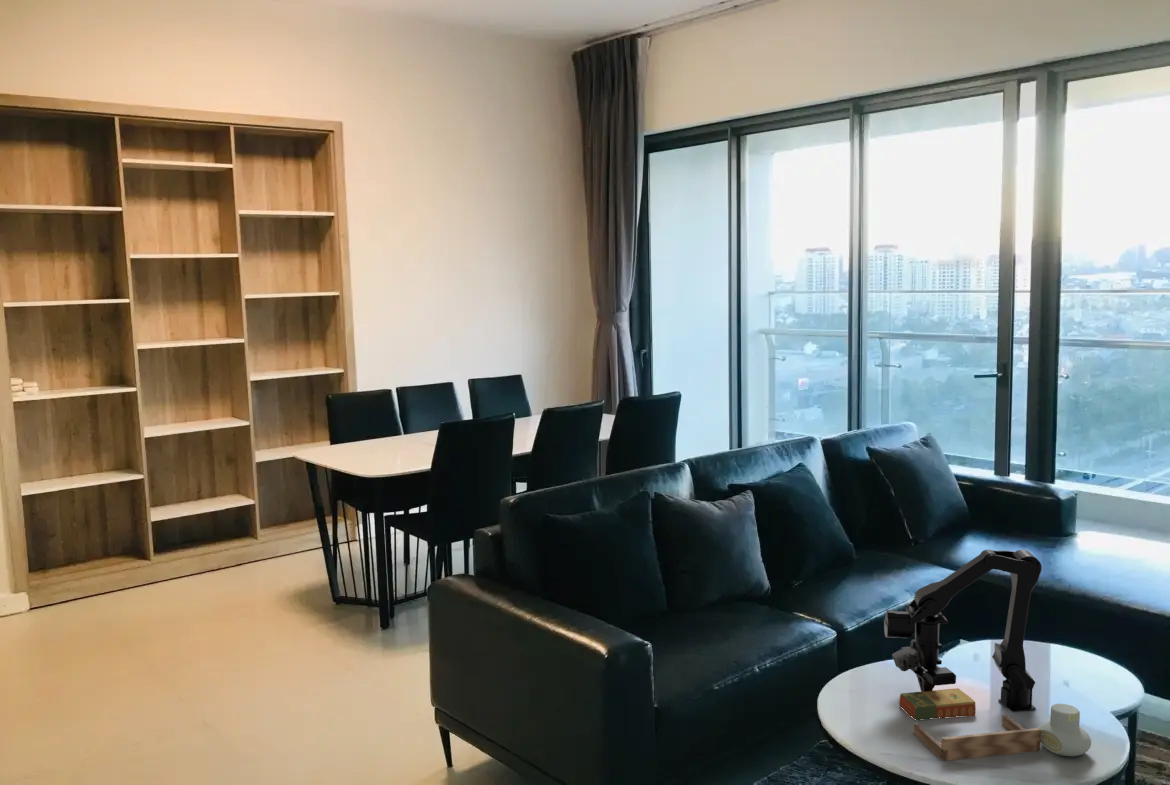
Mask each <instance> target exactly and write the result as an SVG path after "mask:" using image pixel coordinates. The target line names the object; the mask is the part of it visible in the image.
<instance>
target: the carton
mask: <svg viewBox="0 0 1170 785" xmlns="http://www.w3.org/2000/svg"><path fill="white" fill-rule="evenodd" d="M898 704H899V705H900V706H901V707H902V708H903V709H904V710H905V711H906V712H907V713H908V714H909V715H910V716H912V717H913V718H914V719H916V720H918V721H921V720H920V719H930V718H939V717H940V718H942V719H946V718H945V717H955V718H957V717H956V716H967V717H975V716H976V711H977V710H976V700H974V699H972V697H971V696H969V695H968V694H966V693H965V692H964V691H963V690H961V689H960V688H958V687H957V688H947V689H937V690H934V689H933V690H932V691H922V692H921V691H913V692H901V693H900V695H899V703H898ZM903 709H902V710H903ZM904 710H903V711H904ZM905 711H904V712H905ZM906 712H905V713H906ZM907 713H906V714H907ZM908 714H907V715H908ZM909 715H908V716H909ZM910 716H909V717H910ZM913 718H912V719H913ZM914 719H913V720H914ZM916 720H915V721H916ZM930 720H931V719H930Z"/></svg>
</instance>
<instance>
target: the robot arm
mask: <svg viewBox="0 0 1170 785" xmlns="http://www.w3.org/2000/svg"><path fill="white" fill-rule="evenodd" d="M1042 568H1043V567H1042V563H1041V562H1040V560H1039V559H1038V558H1037V557H1036V556H1034V554H1032V553H1031V552H1030V551H1028V550H1025V549H1019V550H1016V551H1011V550H993V549H984V550H982V551H981V552H980V554H978V555H977V556H975V557H974V558H972V559H971V560H969V561H968V562H967V563H965V564H964V565H962V566H961V567H959V568H957V570H956V571H953V572H952V573H950V574H949V575H948V576H946V577H945V578H944V579H941V580H939V581H936V582H931V583H929V584H927V585H925V586H922V587H920V588H919V589H917V590H916V591H915V593H914V598H913V599H912V601H911V602H910V603H909V604H908V605H907V607H906V608H905V610H906V611H903V610H899V611H897V610H893V609H892V610H891V609H887V610H886V614H885V617H884V620H883V629H884V630H883V631H884V636H885V638H892V639H894V638H895V639H897V638H898V639H910V637H913V635H914V639H911V641H910V646H901V647H900V648H899V650H897V651H895V652H894V653H891V656H892V659H893V662H894V665H895V667H896V668H898V669H899V670H900V671H901V672H907V671H909V670H911V671H912V672H913V673H914V674H915V675H916V678H917V681H918V686H919V688H920V692H922V691H934V688H935V687H936V686H945V685H956V683H957V675H956V674H955V673H954V671H952V670H950V669H949V668H948V667H946V666H943V667H940V666H939V665H942V660H941V659H940V658H939V650H942V649H943V644H941V643H940V625H947V624H949V622H948V619H947V618H946V616H944V614H942V612H941V611H943V610H944V609H945V608H946V607H947V606H948V605H949V603H950V601H951V600H952V599H953V598H954V596H956V595H957V594H958V593H960V592H961V591H963V590H964V589H965V588H967V587H969V586H970V585H972V584H973V583H975V582H976V581H977V580H979V579H980V578H982V577H983V576H985V575H986V574H988V573H989V572H991V571H992V570H997V571H1002V572H1006V573H1010V579H1011V591H1010V592H1011V593H1010V599H1009V605H1008V612H1007V619H1006V623H1005V624H1006V626H1005V630H1004V638H1003V639H1002V641H1001V642H1000V643H998V642H994V652H993V654H992V656H991V658H992V659H993V662H994V664H995V666H996V667H997V670H999V672H1000V673H1001V675H1002V677H1003V678H1004V679H1005V680H1002V686H1001V688H1000V698H998V699H997V700H998V703H1000V704H1001V705H1002V706H1004V707H1005V708H1007V709H1009V710H1010V711H1011V712H1014V713H1015V712H1025V711H1026V712H1027V711H1035V710H1036V709H1037V707H1036V706H1035V705H1033V689H1034V687H1035V684H1036V681H1035V680H1034V678H1033V677H1032V676H1031V675H1030V673H1029V672H1028V670H1027V669H1026V667H1027V666H1026V655H1025V650H1024V641H1025V634H1026V627H1027V621H1028V616H1029V607H1030V603H1031V602H1030V601H1031V596H1032V591H1033V589H1034V588H1035V586H1036V585H1037V583H1038V581H1039V578H1040V576H1041V573H1042Z"/></svg>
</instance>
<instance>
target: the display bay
mask: <svg viewBox="0 0 1170 785" xmlns="http://www.w3.org/2000/svg"><path fill="white" fill-rule="evenodd" d="M1001 726H1002V727H1004V728H1005V729H1006V730H1004V731H1003V730H1002V731H993V732H985V733H982V732H981V733H974V734H965V735H963V734H962V735H952V736H946V737H941V743H940V741H938V740H937V739H936V738H935V737H934V736H932V735H931V734H930V733H929V732H928V731H927V730H926V729H924V727H922V726H921V725H920V724H919V723H915V724H913V735H914V736H915V735H916V736H915V737H916V738H917V737H918V738H919V739H918V740H919V741H920V742H922V743H923V744H924V745H925V746H926V747H928V749H929V750H931V751H932V752H933V753H934V754H935V755H936V756H937V757H938V758H939V759H941V761H943V762H947V761H956V760H964V759H965V760H966V759H973V758H974V759H975V758H983V757H985V758H986V757H993V756H995V757H996V756H1004V755H1010V754H1011V755H1013V754H1020V753H1021V754H1022V753H1030V752H1040V751H1041V744H1042V743H1041V729H1039V728H1040V727H1034V728H1025V727H1023V726H1022V725H1020V724H1019V723H1018V722H1016V721H1015V720H1014V719H1012V718H1010V717H1009V716H1008V715H1006V714H1005V715H1002V718H1001Z"/></svg>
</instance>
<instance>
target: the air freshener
mask: <svg viewBox="0 0 1170 785" xmlns="http://www.w3.org/2000/svg"><path fill="white" fill-rule="evenodd" d="M1080 714H1081V711H1080V710H1079V708H1077V707H1076V706H1073V705H1071V704H1067V703H1055V704H1052V706H1050V716H1049V717H1050V719H1049V720H1048V721H1046V722H1045V723H1042V724H1041V725H1040V726H1039V727H1038V728H1039V729H1041V743H1040V744H1041V745H1042V746H1043V747H1044V748H1046V749H1047V751H1050V753H1052V754H1055V755H1058V756H1063V757H1077V756H1081V755H1084V754H1086V753H1087V752H1089V750H1090V749H1091V746H1092V739H1091V736H1090V735H1089V733H1088V732H1087V731H1086V730H1085V729H1084V728H1082V727H1081V726H1080V719H1081V718H1080V717H1081V716H1080Z"/></svg>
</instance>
